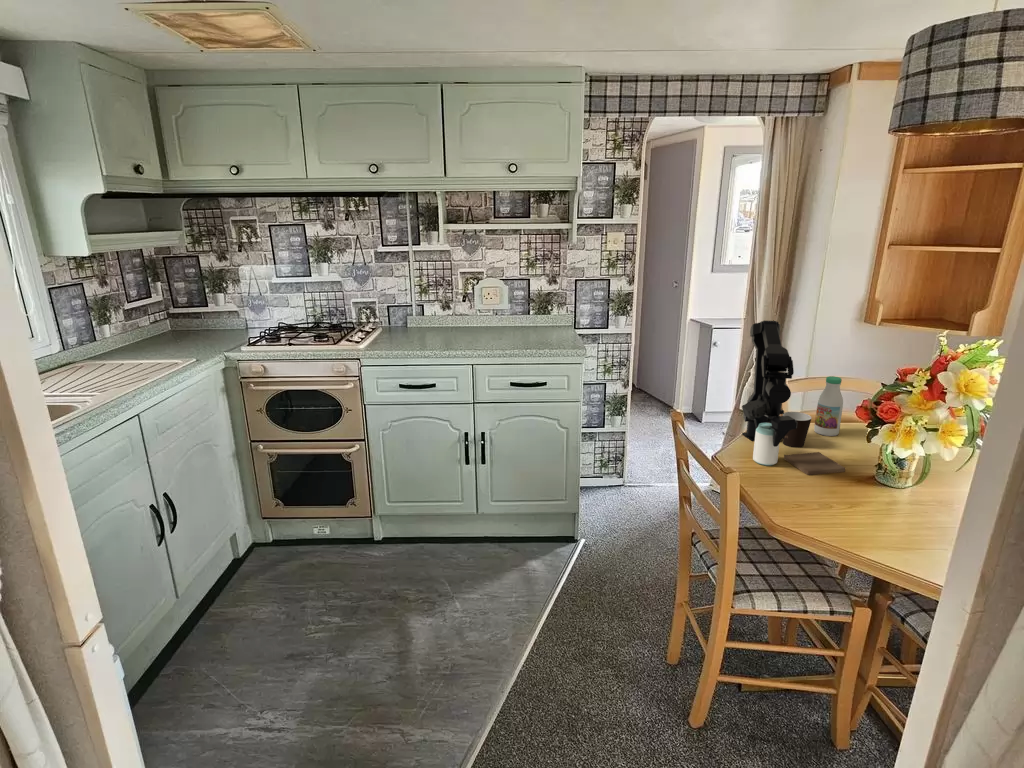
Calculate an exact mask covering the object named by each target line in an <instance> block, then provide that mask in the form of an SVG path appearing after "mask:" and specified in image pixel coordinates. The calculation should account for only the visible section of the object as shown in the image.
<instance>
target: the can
mask: <svg viewBox="0 0 1024 768" xmlns="http://www.w3.org/2000/svg"><path fill="white" fill-rule="evenodd" d="M770 426H772V425H771V423H760V424H759V426H758V427H757V428H756V433H755V441H754V442H753V443H754V444H753V453H752V460H753V461H754V462H755V463H757V464H758V465H761V466H774V465H775V464H777V463H778V459H779V451H780V444H781V442H780V443H779V445H778V446H776V447H774V446H773V430H772V429H771V428H770Z"/></svg>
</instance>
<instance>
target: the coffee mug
mask: <svg viewBox="0 0 1024 768" xmlns="http://www.w3.org/2000/svg"><path fill="white" fill-rule="evenodd" d="M782 416H790V417H791V418H793V419H795V420H796V421H797V422H798V423H797V428H796V429H793V430H790V431H789V432H788V433H787V434H786V435H785V437H784V438H783V439H782V444H783V445H784V446H786V447H789V448H794V449H801V448H803V447H804V446H805V444H806V439H807V436H808V432H809V429H810V426H811V422H812V416H811V415H809V414H808V413H804V412H802V411H801V412H799V411H786V412H785V411H784V414H782Z"/></svg>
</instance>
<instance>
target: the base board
mask: <svg viewBox="0 0 1024 768" xmlns="http://www.w3.org/2000/svg"><path fill="white" fill-rule="evenodd" d="M783 460H785V461H787V462H788V463H789V464H791V465H792V466H794V467H795V468H797V469H798V470H800V471H801V472H803V473H804V474H805V475H807V476H813V475H822V474H823V475H824V474H825V475H826V474H832V473H833V474H834V473H845V472H846V467H844V466H843V465H841V464H839V463H838V462H836V461H834V460H833V459H832V458H830V457H828V456H826V455H824V454H823V453H822V452H819V451H815V452H805V453H804V452H803V453H794V454H784V455H783Z"/></svg>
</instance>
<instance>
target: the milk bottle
mask: <svg viewBox="0 0 1024 768" xmlns="http://www.w3.org/2000/svg"><path fill="white" fill-rule="evenodd" d="M841 385H842V377H838V376H834V375H833V376H832V375H831V376H826V378H825V387H824V388H823V391H822V392H821V393H820V395H819V397H818V400H817V406H816V413H815V418H814V419H815V420H814V424H813V425H814V427H813V430H814V432H815V433H816V434H818V435H821V436H827V437H836V436H838V435H839V433H840V429H841V422H842V415H843V409H844V407H843V406H844V398H843V394H842V392H841Z"/></svg>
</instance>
